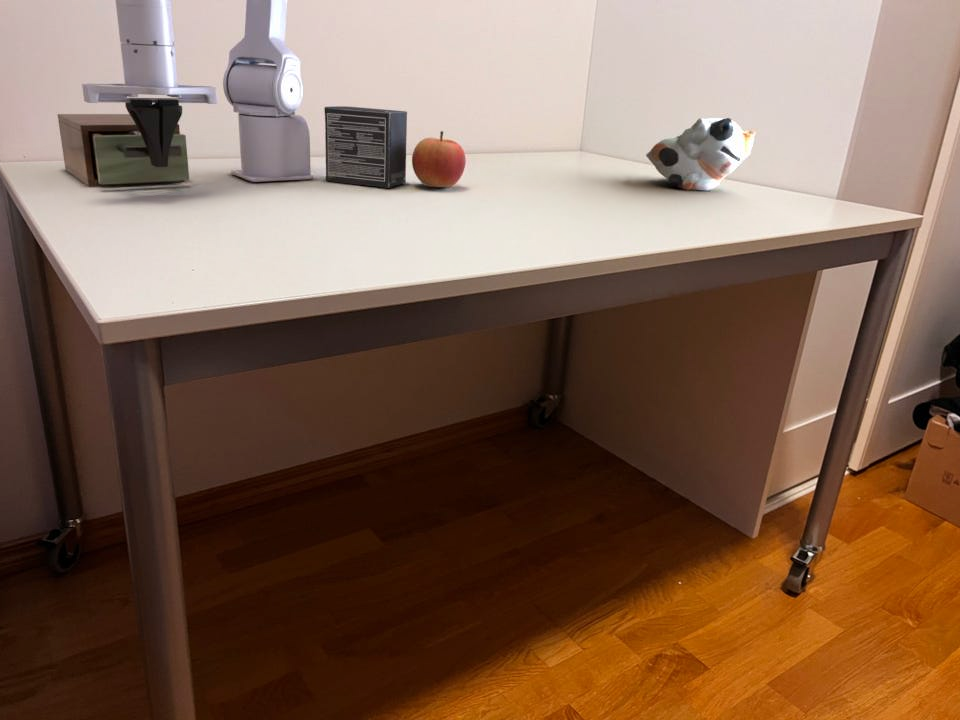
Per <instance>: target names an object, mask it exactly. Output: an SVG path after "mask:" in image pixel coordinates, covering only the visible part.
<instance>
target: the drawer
mask: <svg viewBox="0 0 960 720" xmlns="http://www.w3.org/2000/svg"><path fill="white" fill-rule="evenodd" d="M128 132H133V131H88V135H89V142H90V150H91V157H92V165H93V173H94V174H96V175H97V176H98V181H99V183H100V184H121V183H141V182H161V181H181V180H184V181H190V170H189V159H188V147H187V137H186V136H187V135H186V134H183V133H180V134H174V135H173V138H172V142H171V146H170V152H169V159H168V167H155V166H153V165H151V161H150V157H149V154H148V151H147V148H146V145H145V143H144V140H143V138H142V136H141V135H126V134H128Z"/></svg>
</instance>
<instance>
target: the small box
mask: <svg viewBox="0 0 960 720" xmlns="http://www.w3.org/2000/svg"><path fill="white" fill-rule="evenodd" d="M323 110H324V126H325V127H324V129H325V133H324V134H325V135H324V136H325V137H324V138H325V181H326V182H334V183H341V184H351V185H358V186H367V187H377V188H384V189H389V188H393V187H395V186H399V185H402V184H406V182H407V181H406V180H407V179H406V178H407V135H408V134H407V131H408V129H407V128H408V111H407V110H394V109H381V108H370V107H358V106H346V105H345V106H344V105H343V106H341V105H340V106H338V105H337V106H324V109H323Z"/></svg>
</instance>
